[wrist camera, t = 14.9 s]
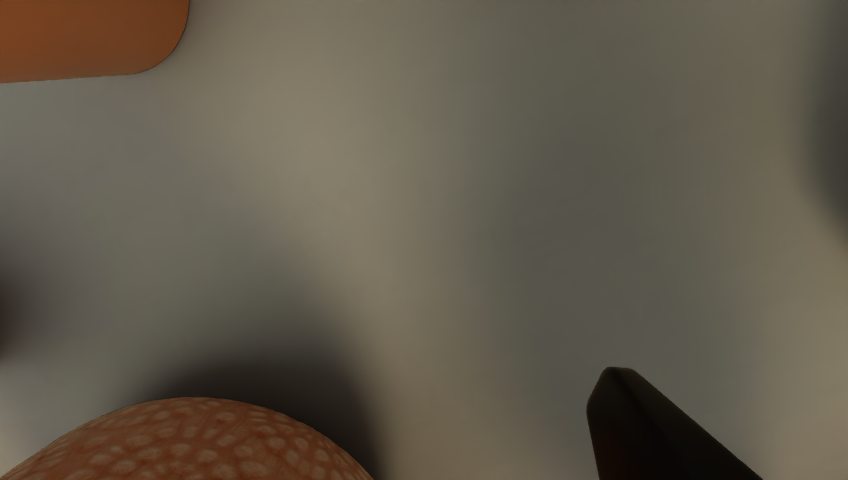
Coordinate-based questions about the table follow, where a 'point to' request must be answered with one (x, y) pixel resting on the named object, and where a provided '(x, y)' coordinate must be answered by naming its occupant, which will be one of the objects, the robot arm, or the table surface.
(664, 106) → the table surface
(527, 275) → the table surface
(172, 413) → the planter
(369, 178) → the table surface
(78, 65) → the orange cylindrical vase
